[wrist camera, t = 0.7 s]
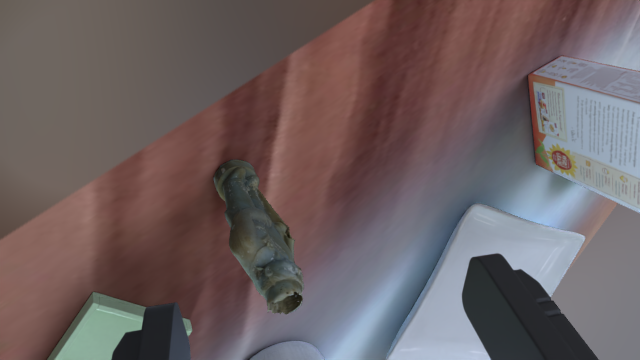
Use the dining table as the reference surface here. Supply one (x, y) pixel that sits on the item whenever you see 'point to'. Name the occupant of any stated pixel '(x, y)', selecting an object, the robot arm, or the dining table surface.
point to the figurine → (259, 238)
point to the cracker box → (589, 126)
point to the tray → (100, 329)
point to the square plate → (450, 272)
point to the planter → (290, 352)
